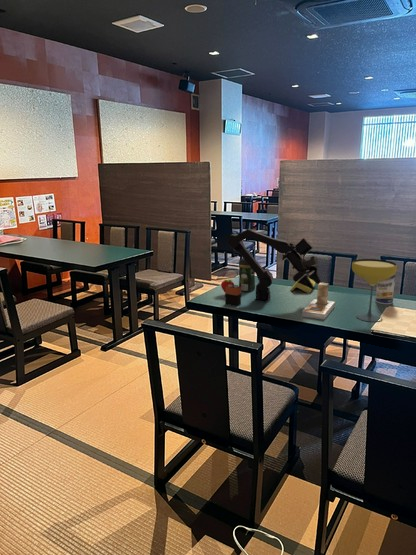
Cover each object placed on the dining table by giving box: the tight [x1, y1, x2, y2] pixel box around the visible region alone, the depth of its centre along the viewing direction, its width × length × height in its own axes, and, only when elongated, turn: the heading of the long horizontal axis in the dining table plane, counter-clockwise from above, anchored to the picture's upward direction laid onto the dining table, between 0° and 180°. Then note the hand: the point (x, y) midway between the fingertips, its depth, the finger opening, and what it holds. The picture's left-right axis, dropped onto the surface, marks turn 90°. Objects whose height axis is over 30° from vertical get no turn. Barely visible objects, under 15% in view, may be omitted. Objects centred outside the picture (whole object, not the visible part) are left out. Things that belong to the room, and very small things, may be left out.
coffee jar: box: [238, 257, 256, 293], centre depth 225 cm, size 10×8×19 cm
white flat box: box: [301, 298, 336, 321], centre depth 190 cm, size 10×21×3 cm, turn 151°
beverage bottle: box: [374, 274, 396, 305], centre depth 201 cm, size 8×8×20 cm
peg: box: [316, 282, 330, 306], centre depth 193 cm, size 4×4×12 cm
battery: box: [224, 284, 242, 307], centre depth 200 cm, size 4×7×10 cm, turn 59°
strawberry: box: [220, 278, 235, 293], centre depth 216 cm, size 6×8×10 cm
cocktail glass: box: [351, 258, 398, 323], centre depth 178 cm, size 18×18×25 cm
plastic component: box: [290, 275, 317, 294], centre depth 230 cm, size 20×7×10 cm
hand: (317, 286), depth 194 cm, fingers open, 9 cm apart
